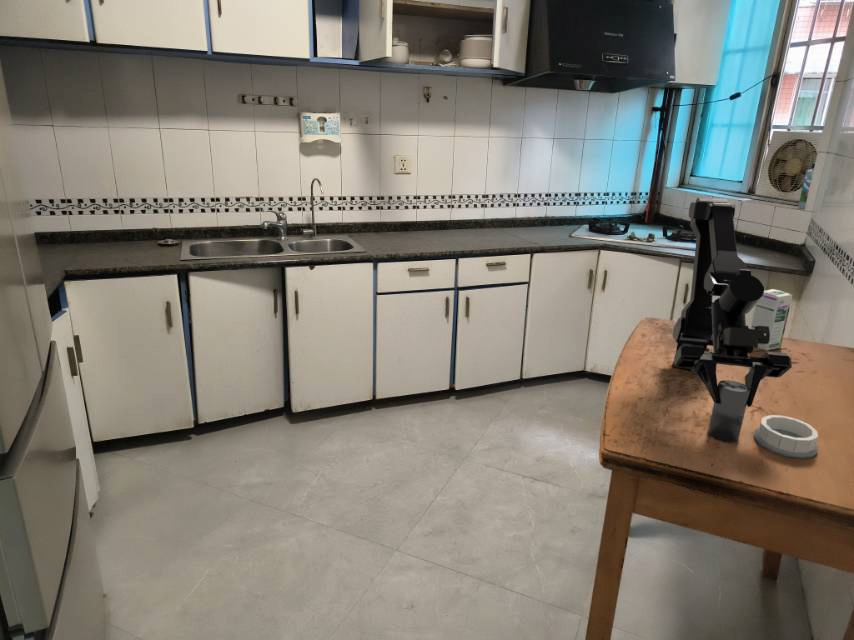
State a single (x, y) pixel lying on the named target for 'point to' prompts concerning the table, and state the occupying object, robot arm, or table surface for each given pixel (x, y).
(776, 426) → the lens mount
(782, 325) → the syrup box
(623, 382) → the table surface
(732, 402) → the lens
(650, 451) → the table surface
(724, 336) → the robot arm
